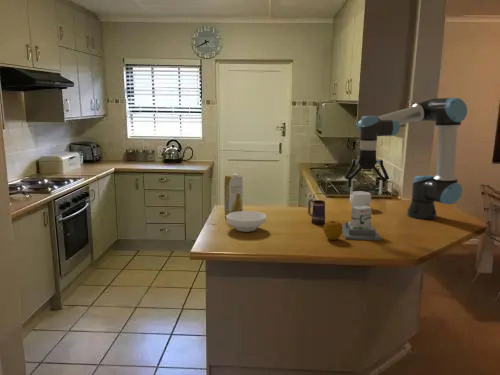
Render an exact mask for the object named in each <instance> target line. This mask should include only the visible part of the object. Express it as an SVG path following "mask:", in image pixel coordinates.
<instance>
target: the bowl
mask: <svg viewBox="0 0 500 375" xmlns="http://www.w3.org/2000/svg"><path fill="white" fill-rule="evenodd" d="M225 217H226V221H227V223H228V224H229V225H231V226H232V227H234V228H235V229H236V230H237V231H238V232H250V233H251V232H255V230H257V229H258V228H259V227H260V226H262V225H263V224H265V223H266V220H267V215H266V214H265V213H263V212H260V211H255V210H254V211H253V210H243V211H238V212H232V213H229V214H228V215H227V216H225Z"/></svg>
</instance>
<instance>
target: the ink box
mask: <svg viewBox="0 0 500 375" xmlns="http://www.w3.org/2000/svg"><path fill="white" fill-rule="evenodd" d="M371 220H372V207H370V206H355V207H353V206H352V207H351V218H350V222H351V226H353V227H354V229H363V230H369V227H370V225H371V226H372V221H371Z"/></svg>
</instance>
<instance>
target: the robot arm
mask: <svg viewBox="0 0 500 375" xmlns="http://www.w3.org/2000/svg"><path fill="white" fill-rule="evenodd" d="M467 115H468V106H467V104H466V102H465V101H464V100H463V99H462V98H459V97H444V98H443V97H442V98H441V97H439V98H438V97H437V98H431V99H430V98H429V99H427V100H423V101H421V102H418V103H415V104H412V105H411V106H410V107H407V108H404V109H400V110H397V111H396V110H395V111H392V112H390V113H389V112H388V113H386V114H382V115H378V116H377V115H363V116H362V117H361V119H360V120H359V121H358V122H357V125H356V129H357V131H358V132H359V133H360V135H359V149H360V150H359V155H358V156H359V158H358V159H352V161H351V164H350V167H349V168H348V170H347V172H346V174H345V175H344V179H345V180H347V181H348V182H347V184H348V185H347V186H348V187H349V188H350V189H349V190H350V191H349V194H353V192H354V191H353V190H354V189H353V188H354V180H353V179H354V178H355V177H356V176H357V175H358V173H359V172H361V171H362V170H373V171H374V172H375V173H376V175H377V176H378V177H379V178H380V179H379V185H378V186H379V188H378V193H379V195H383V188H385V186H386V185H385V184H386V181H387V180H389V179H390V176H389V175H388V172H387V170H386V168H385V166H384V160H383V159H378V160H377V146H378V145H377V143H378V137H392V136H393V137H394V136H396V135H397V134H398V133H399V131H400V126H402V125H407V124H409V123H413V122H416V123H419V122H427V121H431V122H435V123H434V124H435V127H436V128H437V130H438V134H437V148H436V149H437V151H436V152H437V154H436V171H435V172H436V173H435V175H432V174H431V175H430V174H429V175H416V176H415V175H414V177H413V182H412V191H411V201H410V204H409V207H408V209H407V211H406V212H407V213H406V215H407V216H408V217H410V218H414V219H421V220H434V219H436V218H437V209H436V206H435V202H437V203H441V204H443V205H454V204H455V203H457V202H458V201H459V200H460V198H461V197H462V194H463V187H462V184H460V183H458V177H457V176H456V175H455V173H456V172H455V170H456V158H457V157H456V156H457V155H456V154H457V137H458V128H459V127H460V126H461V125H462V122H463V121H464V120H465V119H466V118H467ZM357 164H358V167H356V169H355V166H356V165H357ZM376 165H379V167H380V169H381V171H382V174H383V175H384V176H383V175H382V174H381V172H380V171H379V170H378V169H377V167H376ZM354 169H355V170H354ZM353 170H354V171H353ZM352 171H353V172H352Z"/></svg>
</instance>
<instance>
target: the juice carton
mask: <svg viewBox="0 0 500 375" xmlns="http://www.w3.org/2000/svg"><path fill="white" fill-rule="evenodd" d="M243 182H244V181H243V175H241V174H239V173H233V174H232V175H224V182H223V184H224V186H223V187H224V188H223V190H224V192H223V193H224V194H223V195H224V198H223V199H224V201H223V202H224V203H223V204H224V209H223V210H224V216H225V215H228V214H229V213H232V212H238V211H244V210H243V207H244V206H243V205H244V204H243V201H244V199H243V198H244V197H243V196H244V195H243V194H244V192H243V191H244V190H243V188H244V185H243V184H244V183H243Z"/></svg>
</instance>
